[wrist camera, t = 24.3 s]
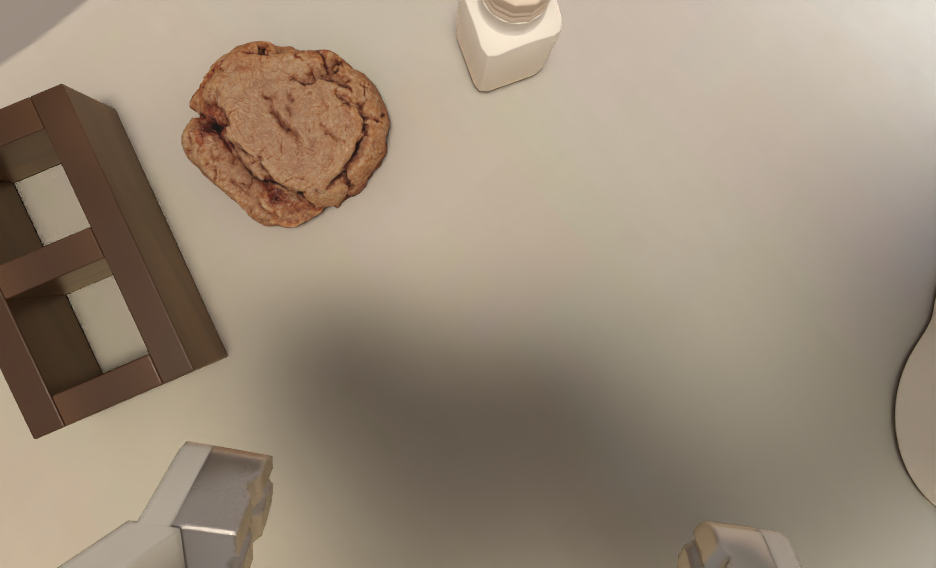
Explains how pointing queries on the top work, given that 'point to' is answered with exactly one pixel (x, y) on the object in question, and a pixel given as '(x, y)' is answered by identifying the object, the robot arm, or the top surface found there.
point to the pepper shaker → (506, 38)
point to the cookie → (286, 131)
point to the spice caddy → (88, 266)
